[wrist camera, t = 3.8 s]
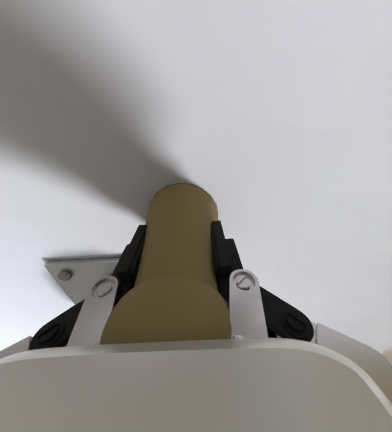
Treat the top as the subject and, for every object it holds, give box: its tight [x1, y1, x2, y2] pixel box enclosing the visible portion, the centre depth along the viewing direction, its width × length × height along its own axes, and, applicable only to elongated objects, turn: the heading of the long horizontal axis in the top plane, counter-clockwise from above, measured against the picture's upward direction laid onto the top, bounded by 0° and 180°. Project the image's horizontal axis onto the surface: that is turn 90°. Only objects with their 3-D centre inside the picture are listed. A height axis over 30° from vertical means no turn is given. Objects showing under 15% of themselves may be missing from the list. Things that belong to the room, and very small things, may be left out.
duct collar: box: [44, 257, 120, 305], centre depth 19 cm, size 15×15×5 cm
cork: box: [99, 183, 232, 345], centre depth 10 cm, size 6×6×11 cm
